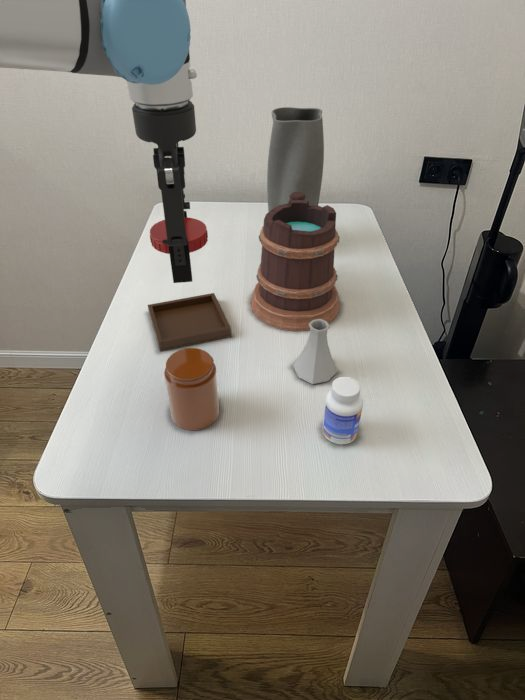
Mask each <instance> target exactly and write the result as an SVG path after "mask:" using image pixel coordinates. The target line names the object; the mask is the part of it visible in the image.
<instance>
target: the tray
mask: <svg viewBox="0 0 525 700" xmlns="http://www.w3.org/2000/svg"><path fill="white" fill-rule="evenodd" d="M147 309H148V310H147V311H148V314H149V319H150V321H151V325H152V329H153V332H154V337H155V340H156V343H157V346H158V350H159V352H162V351H167V350H172V349H178V348H182V347H183V348H184V347H187V346H192V345H197V344H203V343H207V342H212V341H216V340H222V339H227V338H231V337H232V328H231V325H230V324H229V321H228V319H227V317H226V315H225V312H224V311H223V309H222V307H221V304H220V303H219V300H218V298H217V296H216V294H215V292H211V293H206V294H201V295H200V294H199V295H195V296H189V297H184V298H179V299H172V300H166V301H161V302H156V303H150V304H147Z"/></svg>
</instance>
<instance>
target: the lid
mask: <svg viewBox="0 0 525 700" xmlns="http://www.w3.org/2000/svg"><path fill="white" fill-rule="evenodd" d="M185 227H186V236H188V244H189V253H194V252H197V251H200V249H202V248H204V246H206V244H207V243H208V241H209V239H208V238H209V237H208V236H209V234H208V228H207V225H206V223H205V222H203V221H202V220H199V219H198V218H192V217H188V216H187V217H185ZM165 239H167V233H166V225H165V219H162V220H159V221H158V222H156V223H154V224H153V225H152V226H151V227H150V229H149V240H150V243H151V247H153V248H154V250H156V251H157V252H159V253H163V254H168V255H170V254H169V246H168V244H163V240H165Z"/></svg>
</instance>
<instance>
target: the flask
mask: <svg viewBox="0 0 525 700" xmlns="http://www.w3.org/2000/svg"><path fill="white" fill-rule="evenodd" d="M309 327H310V330H309V335H308V338H307V341H306V343H305V345H304V347H303V348H302V350H301V352H300V353H299V356H298V357H297V358H296V360H295V362H294V363H293V365H292V367H293V369H294V371H295V373H296V375H297V377H298V378H300V379H301V380H303V381H305V382H307V383H309V384H311V385H315V384H320V383H326V382H329V381H330V380H331V379H333V377H334V376H335V375H336V374H337V373H338V371H337V367H336V365H335V362H334V359H333V357H332V356H333V355H332V354H331V351H330V350H331V349H330V347H329V341H328V330H329V329H330V327H331V325H330V323H328V322H327V321H324V320H322V319H316V320H313V321H311V322H310V323H309Z"/></svg>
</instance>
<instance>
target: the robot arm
mask: <svg viewBox="0 0 525 700" xmlns="http://www.w3.org/2000/svg"><path fill="white" fill-rule="evenodd" d="M191 31H192V30H191V22H190V16H189V12H188V9H187V2H186V0H0V68H2V69H17V70H18V69H19V70H30V71H31V70H32V71H45V72H46V71H47V72H62V73H72V74H79V75H89V76H90V75H93V76H107V77H118V78H122V79H123V80H125V81H126V83H127V89H128V96H129V99H130V101H132V102H133V103H134V104H133V106H132V107H131V111H132V119H133V124H134V131H135V134H136V136H137V138H138V139H139V140H141V141H143V142H146V143H153V144H155V145H157V147H153V155H152V161H153V167H154V168H155V170H156V178H157V185H158V186H157V187H158V189H159V190H160V192H161V199H162V206H163V207H162V208H163V217H164V220H165V225H166V233H167V239H165V240H163V244H168V246H169V254H168V255H169V260H170V266H171V274H172V282H173V284H180V283H192V282H193V274H192V273H193V272H192V263H191V255H190V253H189V244H188V236H186V227H185V217H188V213H187V210H191V202H190V201H186V200H185V198H186V194H185V192H184V191H185V188H186V178H185V167H186V157H185V156H186V155H185V149H184V148H185V147H184V146H179V145H180V144H179V142H182V141H183V142H185V141H188V140H190V139H191V138H193V137H194V136H195V135H196V133H197V124H196V123H197V122H196V112H195V104H194V103H193V101H191V99H192V98H193V83H192V80H194V79H196V78H197V77H198V73H197V71H196V69H194V68H192V69H190V68H191V56H190V55H191V54H190V47H191V46H190V45H191Z"/></svg>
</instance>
